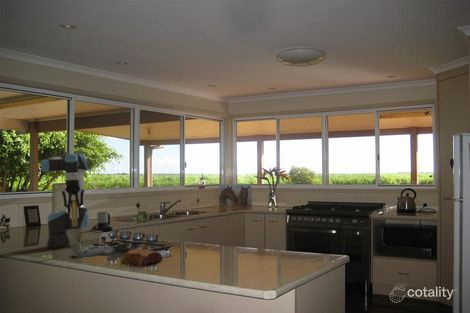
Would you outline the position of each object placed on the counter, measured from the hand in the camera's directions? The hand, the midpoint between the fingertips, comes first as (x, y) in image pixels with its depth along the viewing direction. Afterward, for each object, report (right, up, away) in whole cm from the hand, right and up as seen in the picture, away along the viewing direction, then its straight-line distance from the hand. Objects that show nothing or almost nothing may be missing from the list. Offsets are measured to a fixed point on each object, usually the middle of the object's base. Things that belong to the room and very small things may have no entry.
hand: (74, 218), depth 276 cm
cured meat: (+48, -19, -36) cm, 63 cm away
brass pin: (0, -5, 0) cm, 5 cm away
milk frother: (-17, -25, +110) cm, 114 cm away
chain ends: (+14, -20, -7) cm, 26 cm away
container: (+15, -21, +19) cm, 32 cm away
